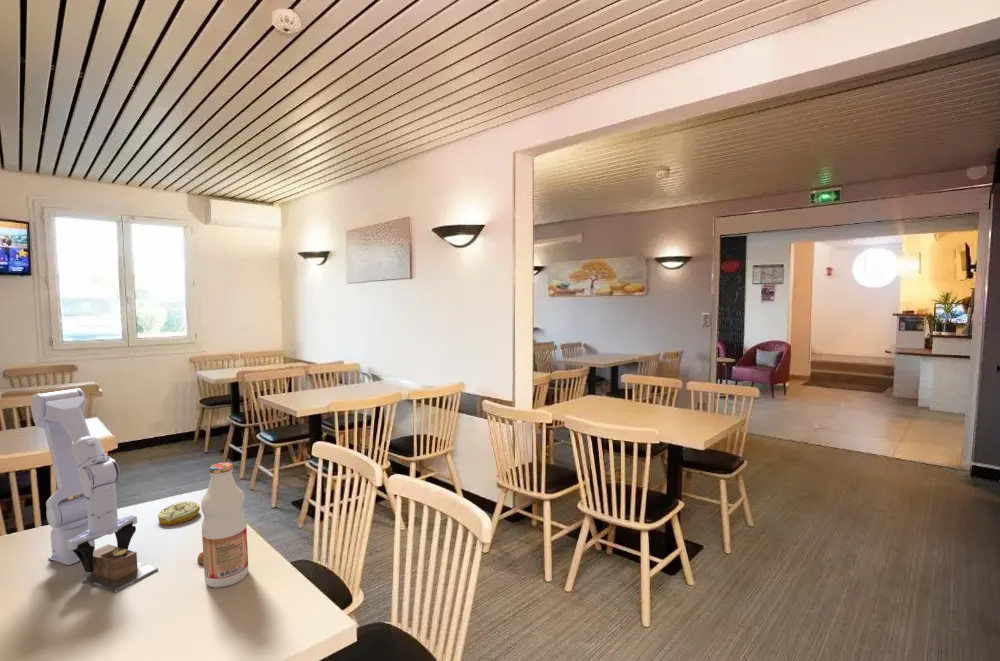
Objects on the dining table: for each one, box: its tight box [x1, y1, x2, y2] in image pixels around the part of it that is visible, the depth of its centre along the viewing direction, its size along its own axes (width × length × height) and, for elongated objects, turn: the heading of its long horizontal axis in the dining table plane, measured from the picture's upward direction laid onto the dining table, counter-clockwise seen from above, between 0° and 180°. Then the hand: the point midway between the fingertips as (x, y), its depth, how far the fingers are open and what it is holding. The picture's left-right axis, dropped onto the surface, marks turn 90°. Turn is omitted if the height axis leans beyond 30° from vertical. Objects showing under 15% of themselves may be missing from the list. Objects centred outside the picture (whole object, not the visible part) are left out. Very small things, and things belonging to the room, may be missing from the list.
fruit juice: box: [200, 461, 249, 589], centre depth 121 cm, size 9×9×28 cm
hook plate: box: [82, 548, 159, 593], centre depth 122 cm, size 12×10×6 cm
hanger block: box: [90, 544, 138, 581], centre depth 124 cm, size 11×5×5 cm, turn 68°
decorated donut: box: [157, 501, 201, 526], centre depth 154 cm, size 10×11×4 cm
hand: (106, 563), depth 124 cm, fingers open, 7 cm apart
